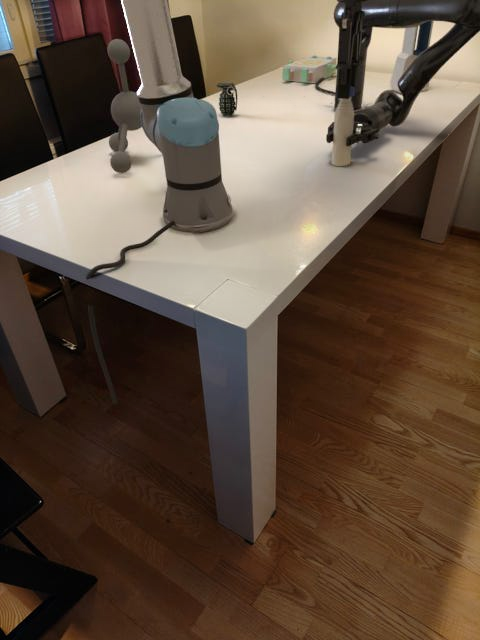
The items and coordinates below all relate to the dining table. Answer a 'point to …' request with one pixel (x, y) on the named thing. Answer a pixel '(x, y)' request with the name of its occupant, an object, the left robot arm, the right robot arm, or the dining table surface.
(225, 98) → the grenade
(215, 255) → the dining table surface
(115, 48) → the molecular model
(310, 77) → the decorative block
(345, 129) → the bottle
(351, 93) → the cap
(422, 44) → the electronic device
